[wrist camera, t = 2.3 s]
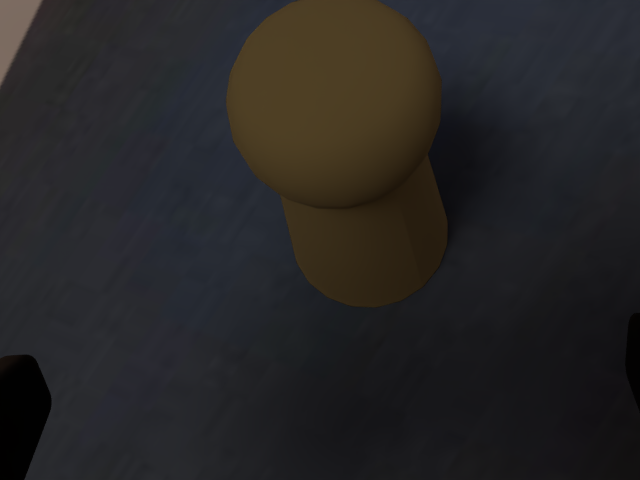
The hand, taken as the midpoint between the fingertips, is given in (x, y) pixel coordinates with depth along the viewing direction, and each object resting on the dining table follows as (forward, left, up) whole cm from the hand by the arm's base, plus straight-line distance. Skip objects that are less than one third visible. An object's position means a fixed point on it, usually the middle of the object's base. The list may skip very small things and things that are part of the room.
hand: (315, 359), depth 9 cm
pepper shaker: (+3, +6, -13) cm, 15 cm away
